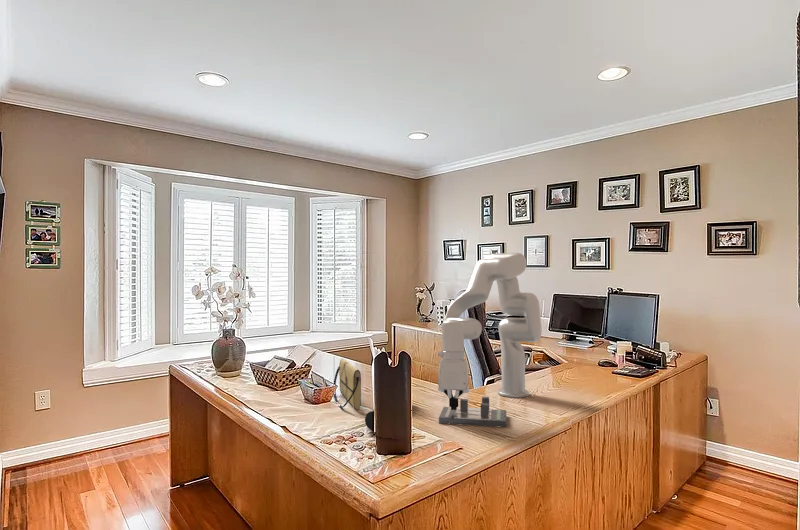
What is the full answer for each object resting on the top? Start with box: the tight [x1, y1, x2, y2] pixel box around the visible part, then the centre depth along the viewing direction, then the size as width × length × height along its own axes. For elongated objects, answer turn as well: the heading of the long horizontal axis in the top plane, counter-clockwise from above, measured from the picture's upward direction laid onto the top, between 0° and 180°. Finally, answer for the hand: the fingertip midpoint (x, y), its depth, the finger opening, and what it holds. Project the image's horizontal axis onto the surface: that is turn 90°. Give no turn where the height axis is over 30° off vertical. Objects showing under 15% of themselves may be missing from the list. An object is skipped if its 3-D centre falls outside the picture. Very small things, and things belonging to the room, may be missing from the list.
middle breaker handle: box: [459, 398, 469, 413], centre depth 160 cm, size 2×2×4 cm
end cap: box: [364, 409, 375, 434], centre depth 150 cm, size 10×7×7 cm
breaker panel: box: [438, 406, 507, 428], centre depth 159 cm, size 13×22×2 cm, turn 77°
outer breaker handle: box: [480, 402, 488, 418], centre depth 154 cm, size 2×2×4 cm
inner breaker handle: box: [481, 396, 490, 410], centre depth 163 cm, size 2×2×4 cm
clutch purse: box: [333, 358, 362, 411], centre depth 184 cm, size 30×7×15 cm, turn 19°
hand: (453, 408), depth 161 cm, fingers closed
